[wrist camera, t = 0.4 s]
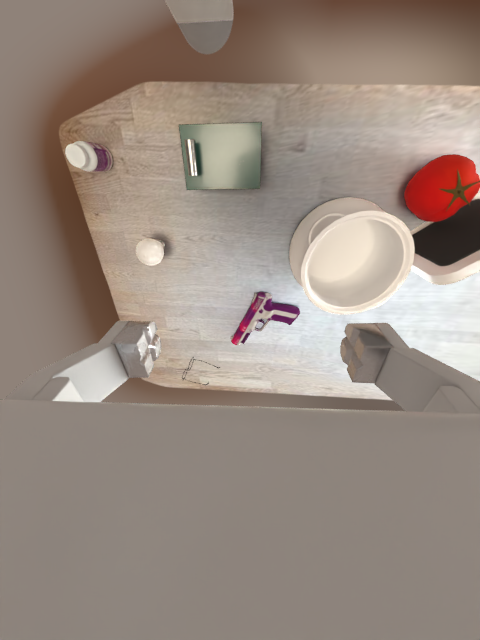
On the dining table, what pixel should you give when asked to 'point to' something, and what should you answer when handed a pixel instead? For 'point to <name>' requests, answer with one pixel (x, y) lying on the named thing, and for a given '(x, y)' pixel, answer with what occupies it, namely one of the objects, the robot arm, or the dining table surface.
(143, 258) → the light bulb
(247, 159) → the lid
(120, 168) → the dining table surface
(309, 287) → the pot
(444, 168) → the tomato
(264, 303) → the toy gun
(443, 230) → the computer
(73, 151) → the pill bottle
